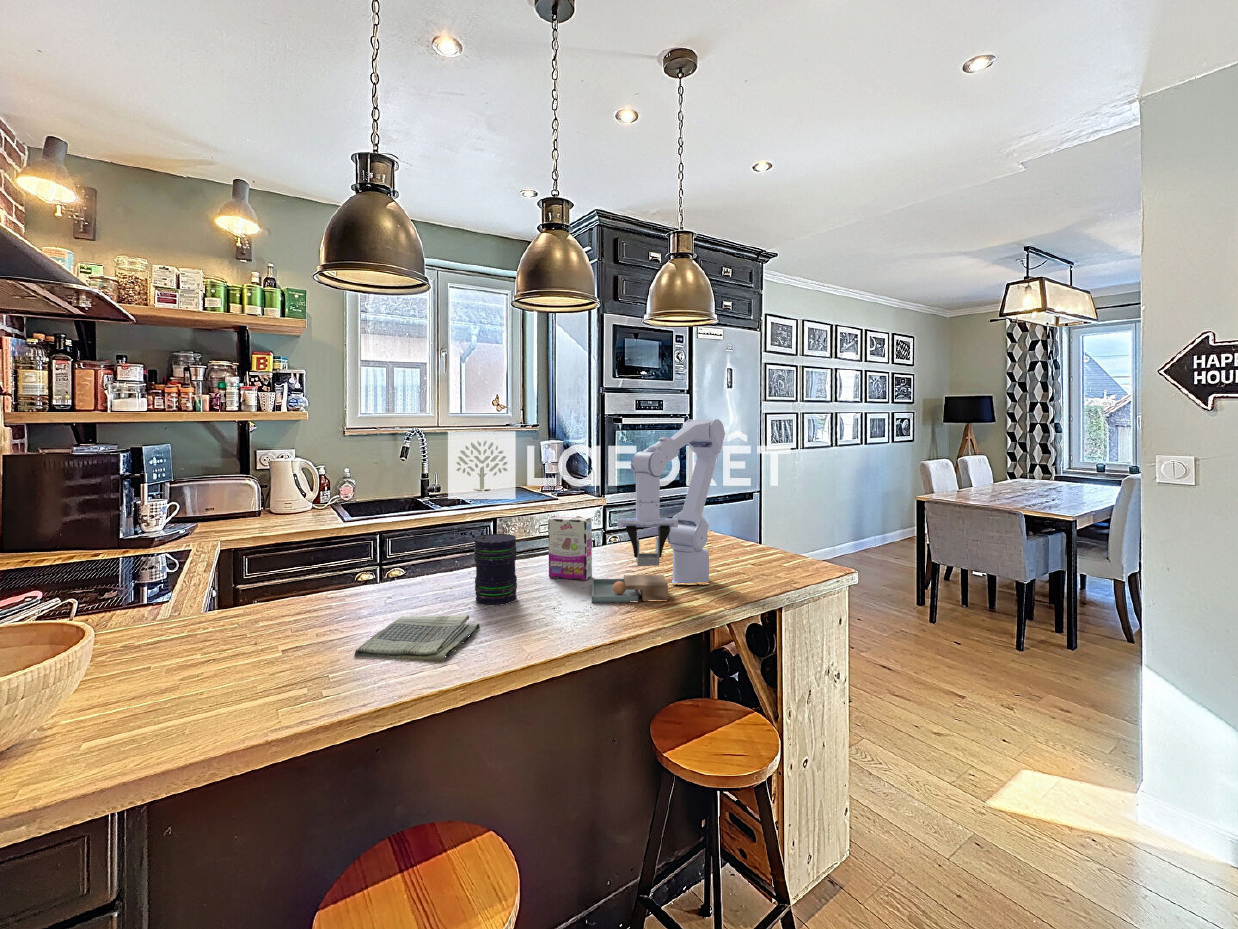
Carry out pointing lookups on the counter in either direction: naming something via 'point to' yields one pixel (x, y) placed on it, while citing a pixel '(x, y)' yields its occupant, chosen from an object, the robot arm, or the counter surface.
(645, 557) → the sleeve
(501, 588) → the storage jar
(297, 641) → the counter surface
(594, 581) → the tray
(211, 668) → the counter surface
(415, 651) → the dish towel
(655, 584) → the stand
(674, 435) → the robot arm
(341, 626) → the counter surface
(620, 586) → the ball
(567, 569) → the candy bar box
